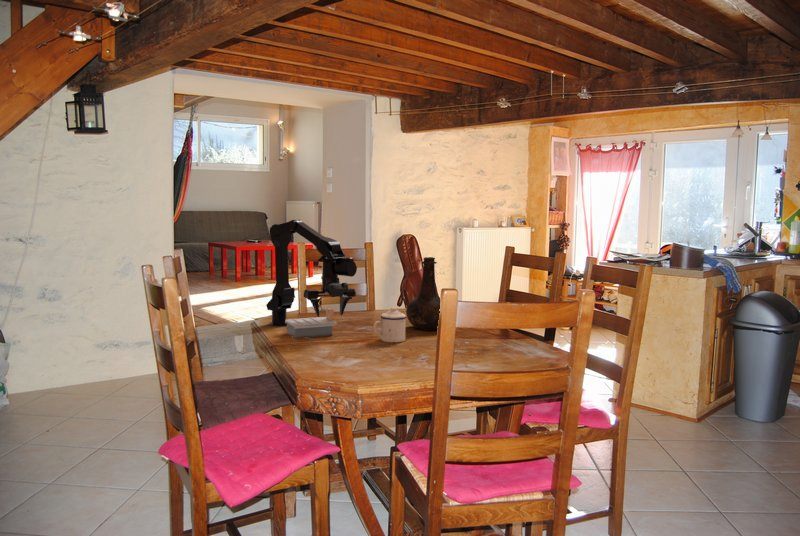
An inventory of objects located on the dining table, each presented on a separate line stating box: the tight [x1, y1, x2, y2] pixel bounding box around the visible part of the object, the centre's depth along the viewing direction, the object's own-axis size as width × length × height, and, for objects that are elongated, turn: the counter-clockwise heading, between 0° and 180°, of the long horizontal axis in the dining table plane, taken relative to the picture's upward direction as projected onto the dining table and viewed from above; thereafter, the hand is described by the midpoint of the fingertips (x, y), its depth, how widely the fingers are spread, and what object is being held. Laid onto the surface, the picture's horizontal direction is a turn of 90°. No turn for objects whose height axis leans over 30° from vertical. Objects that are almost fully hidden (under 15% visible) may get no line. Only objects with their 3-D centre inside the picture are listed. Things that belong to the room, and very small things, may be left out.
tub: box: [286, 323, 333, 339], centre depth 234 cm, size 10×14×4 cm
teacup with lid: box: [373, 307, 407, 343], centre depth 227 cm, size 12×9×12 cm
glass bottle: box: [405, 256, 441, 331], centre depth 249 cm, size 18×18×28 cm
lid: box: [285, 307, 338, 329], centre depth 234 cm, size 12×16×5 cm
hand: (329, 316), depth 238 cm, fingers open, 9 cm apart
